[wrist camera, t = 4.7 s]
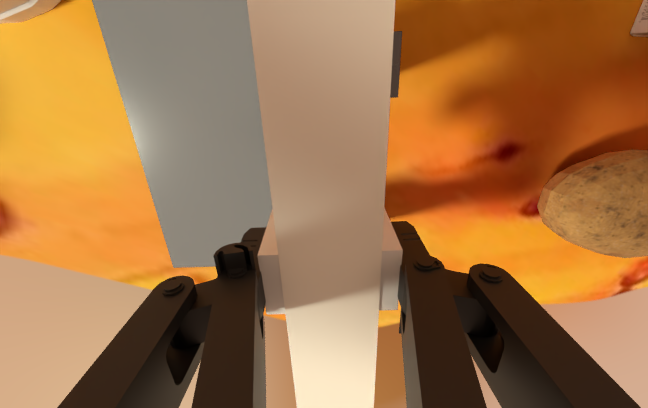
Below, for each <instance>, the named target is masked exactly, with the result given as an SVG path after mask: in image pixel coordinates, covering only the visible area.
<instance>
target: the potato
mask: <svg viewBox="0 0 648 408" xmlns="http://www.w3.org/2000/svg"><path fill="white" fill-rule="evenodd" d="M537 207H538V210H539V213H540V215H541V218H542V221H543V223H544V224H545V225H546V226H548V227H549V228H550V229H551V230H552V231H553V232H555V233H556V234H557V235H559V236H560V237H562V238H563V239H565V240H566V241H568V242H571V243H573V244H575V245H578V246H580V247H582V248H585V249H588V250H591V251H594V252H596V253H600V254H604V255H609V256H616V257H622V258H631V257H641V256H648V150H624V151H616V152H608V153H604V154H602V155H599V156H596V157H594V158H591V159H588V160H585V161H582V162H579V163H576V164H574V165H572V166H570V167H568V168H566V169H564V170H562V171H560V172H558V173H557V174H555V175H554V176H553V177H552V178H551V179H550V180H549V181H548V182H547V183H546V185H545V186H544V187H543V189H542V192H541V195H540V199H539V202H538V205H537Z"/></svg>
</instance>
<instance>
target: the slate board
mask: <svg viewBox="0 0 648 408" xmlns="http://www.w3.org/2000/svg"><path fill="white" fill-rule="evenodd" d="M92 2H93V5H94V8H95V12H96V15H97V18H98V22H99V25H100V28H101V31H102V35H103V38H104V41H105V44H106V48H107V51H108V54H109V58H110V61H111V64H112V67H113V71H114V74H115V77H116V80H117V84H118V87H119V90H120V94H121V97H122V100H123V103H124V107H125V110H126V113H127V117H128V120H129V123H130V126H131V130H132V133H133V136H134V139H135V143H136V146H137V149H138V153H139V156H140V159H141V162H142V166H143V169H144V172H145V176H146V179H147V182H148V185H149V189H150V192H151V195H152V198H153V202H154V205H155V208H156V212H157V215H158V218H159V221H160V225H161V228H162V231H163V234H164V238H165V241H166V244H167V248H168V251H169V254H170V257H171V261H172V264H173V267H174V268H176V267H212V266H216V265H215V261H214V257H213V255H214V254H215V252H216V251H217V250H218V249H220V248H221V247H223V246H225V245H228V244H232V243H240V242H241V240H242V237H243V235H244V233H246V232H247V231H248V230H249V229H250V228H261V227H267V224H268V221H269V218H270V215H271V212H272V201H271V192H270V184H269V176H268V168H267V160H266V152H265V144H264V136H263V127H262V119H261V111H260V103H259V95H258V87H257V79H256V71H255V63H254V54H253V46H252V38H251V30H250V22H249V14H248V6H247V0H92Z"/></svg>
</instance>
